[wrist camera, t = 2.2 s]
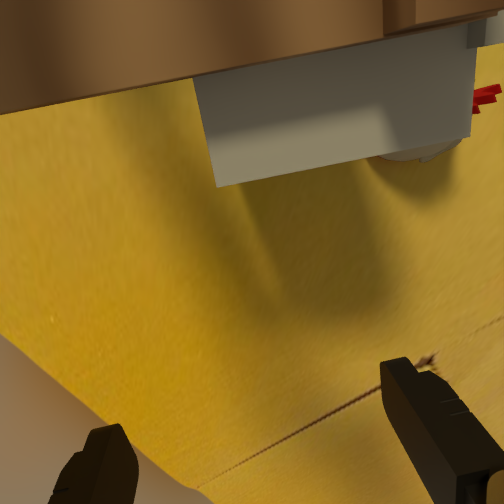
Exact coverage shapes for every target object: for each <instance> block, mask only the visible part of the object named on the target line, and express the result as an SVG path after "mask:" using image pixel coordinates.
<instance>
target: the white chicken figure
mask: <svg viewBox="0 0 504 504" xmlns="http://www.w3.org/2000/svg"><path fill="white" fill-rule="evenodd" d="M474 82H475V80H474ZM499 93H502V90H501V87H500V84H495V85H491V86H487V87H483V88H480V89H476V90H474V93H473V106H472V114H479V113H480V110H479V108H478V105H482V104H489V103H494V102H497V100H496V97H495V95H496V94H499ZM462 139H463V138H462ZM462 139H457V140H452V141H447V142H442V143H437V144H432V145H427V146H422V147H417V148H412V149H407V150H402V151H397V152H392V153H387V154H382V155H377V156H379V157H381V158H383V159H386V160H394V161H408V160H414V159H419V161H420V162H427V161H429V160H431V159H433V158H434V157H436V156H437V155H439V154H441V153H442V152H444V151H446V150H449V149H451V148H453V147H455V146H456V145H458V144H459V143H460V142H461V140H462Z"/></svg>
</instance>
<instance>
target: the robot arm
mask: <svg viewBox="0 0 504 504" xmlns="http://www.w3.org/2000/svg"><path fill="white" fill-rule="evenodd" d="M380 377H381V391H382V401H383V405H384V409H385V412H386V414H387V417H388V419H389V421H390V423H391V425H392V427H393V428H394V430H395V432H396V434H397V436H398V438H399V439H400V441H401V443H402V445H403V447H404V449H405V450H406V452H407V454H408V456H409V458H410V460H411V462H412V463H413V465H414V467H415V469H416V471H417V473H418V474H419V476H420V478H421V480H422V482H423V484H424V486H425V487H426V489H427V491H428V493H429V495H430V497H431V498H432V500H433V502H434V504H504V451H503V450H502V449H501V448H500V446H499V445H498V444H497V443H496V441H495V440H494V439H493V438H492V437H491V435H490V434H489V433H488V432H487V430H486V429H485V428H484V427H483V426H482V424H481V423H480V422H479V421H478V419H477V418H476V417H475V416H474V415H473V413H472V412H470V411H469V408H468V407H467V406H466V405H465V404H464V402H463V401H462V400H460V399H459V396H458V395H457V394H456V393H455V391H454V390H453V389H452V388H451V386H450V385H449V384H448V383H447V382H446V381H445V380H443V379H442V378H440V377H439V376H437V375H436V374H434V373H433V372H431V371H429V370H428V371H424V372H419V373H418V371H417V370H416V368H415V367H414V366H413V364H412V363H411V362H410V360H409V359H408V358H407V357H401V358H396V359H392V360H388V361H383V362H381V363H380ZM138 476H139V465H138V460H137V456H136V454H135V452H134V450H133V448H132V446H131V444H130V442H129V440H128V438H127V436H126V434H125V432H124V430H123V428H122V426H121V425H120V424H118V423H117V424H113V425H108V426H105V427H100V428H95V429H93V430H91V431H90V433H89V435H88V437H87V440H86V443H85V446H84V448H83V451H80V452H76V453H74V455H73V456H72V457H71V459H70V460H69V461H68V463H67V464H66V465H65V467H64V468H63V469H62V471H61V473H60V475H59V477H58V480H57V482H56V485H55V488H54V490H53V495H51V497H50V500H49V502H48V504H133V503H134V498H135V493H136V488H137V482H138Z"/></svg>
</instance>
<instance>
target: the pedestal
mask: <svg viewBox="0 0 504 504" xmlns="http://www.w3.org/2000/svg"><path fill="white" fill-rule="evenodd" d="M499 43H504V10H501V11H498V15H497V16H493V17H490V18H486V19H482V20H478V21H474V22H471V23H467V24H463V25H459V26H455V27H450V28H445V29H439V30H434V31H429V32H424V33H419V34H414V35H409V36H404V37H398V38H393V39H388V40H383V41H378V42H373V43H368V44H362V45H357V46H352V47H347V48H342V49H337V50H332V51H327V52H321V53H316V54H311V55H306V56H301V57H296V58H291V59H285V60H280V61H275V62H270V63H265V64H260V65H255V66H250V67H244V68H239V69H234V70H229V71H224V72H219V73H214V74H208V75H203V76H198V77H193V82H194V87H195V91H196V96H197V100H198V105H199V109H200V114H201V118H202V123H203V127H204V132H205V136H206V141H207V145H208V150H209V154H210V158H211V163H212V167H213V172H214V176H215V181H216V185H217V188H218V187H223V186H228V185H233V184H238V183H243V182H248V181H253V180H258V179H263V178H268V177H273V176H278V175H282V174H287V173H292V172H297V171H302V170H307V169H312V168H317V167H322V166H327V165H332V164H337V163H342V162H347V161H352V160H357V159H362V158H367V157H372V156H377V155H382V154H387V153H392V152H397V151H402V150H407V149H412V148H417V147H422V146H427V145H432V144H437V143H442V142H447V141H452V140H457V139H462V138H466V137H470V132H471V119H472V106H473V93H474V80H475V67H476V54H477V47H483V46H488V45H494V44H499Z"/></svg>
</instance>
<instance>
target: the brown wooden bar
mask: <svg viewBox="0 0 504 504" xmlns="http://www.w3.org/2000/svg"><path fill="white" fill-rule="evenodd" d="M501 10H504V0H0V115H3V114H8V113H13V112H19V111H24V110H29V109H34V108H39V107H44V106H49V105H54V104H60V103H65V102H70V101H75V100H80V99H85V98H90V97H96V96H101V95H106V94H111V93H116V92H121V91H126V90H131V89H137V88H142V87H147V86H152V85H157V84H162V83H167V82H173V81H178V80H183V79H188V78H193V77H198V76H203V75H208V74H214V73H219V72H224V71H229V70H234V69H239V68H244V67H250V66H255V65H260V64H265V63H270V62H275V61H280V60H285V59H291V58H296V57H301V56H306V55H311V54H316V53H321V52H327V51H332V50H337V49H342V48H347V47H352V46H357V45H362V44H368V43H373V42H378V41H383V40H388V39H393V38H398V37H404V36H409V35H414V34H419V33H424V32H429V31H434V30H439V29H445V28H450V27H455V26H459V25H463V24H467V23H471V22H474V21H478V20H482V19H486V18H490V17H493V16H497V15H498V11H501Z"/></svg>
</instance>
